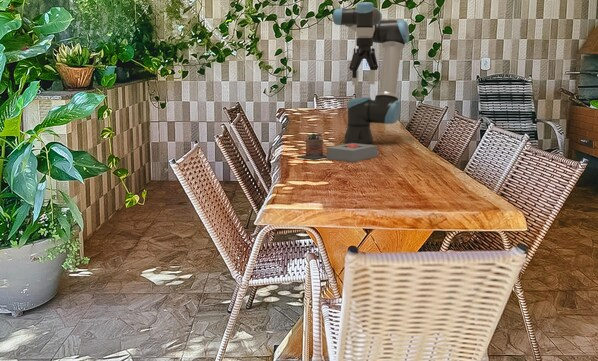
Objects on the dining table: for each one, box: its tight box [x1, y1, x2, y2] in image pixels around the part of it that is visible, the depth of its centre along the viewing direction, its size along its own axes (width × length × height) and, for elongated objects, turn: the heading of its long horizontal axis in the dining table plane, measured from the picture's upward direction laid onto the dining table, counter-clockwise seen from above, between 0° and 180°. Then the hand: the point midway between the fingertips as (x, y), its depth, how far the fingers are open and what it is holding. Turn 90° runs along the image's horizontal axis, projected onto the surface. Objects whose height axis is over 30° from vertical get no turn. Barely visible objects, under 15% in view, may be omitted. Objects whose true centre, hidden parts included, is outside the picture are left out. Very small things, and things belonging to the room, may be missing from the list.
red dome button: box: [346, 143, 358, 148], centre depth 313 cm, size 5×5×5 cm
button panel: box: [326, 143, 379, 163], centre depth 314 cm, size 20×14×5 cm
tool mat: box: [296, 154, 327, 161], centre depth 315 cm, size 12×10×1 cm
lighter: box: [305, 133, 324, 156], centre depth 314 cm, size 8×3×10 cm, turn 103°
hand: (363, 84), depth 321 cm, fingers open, 13 cm apart
